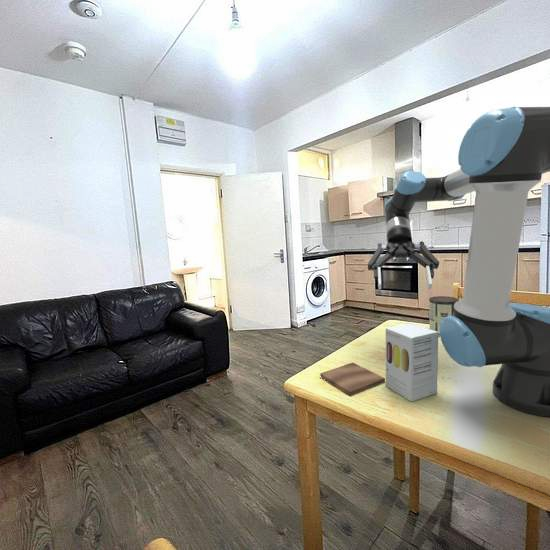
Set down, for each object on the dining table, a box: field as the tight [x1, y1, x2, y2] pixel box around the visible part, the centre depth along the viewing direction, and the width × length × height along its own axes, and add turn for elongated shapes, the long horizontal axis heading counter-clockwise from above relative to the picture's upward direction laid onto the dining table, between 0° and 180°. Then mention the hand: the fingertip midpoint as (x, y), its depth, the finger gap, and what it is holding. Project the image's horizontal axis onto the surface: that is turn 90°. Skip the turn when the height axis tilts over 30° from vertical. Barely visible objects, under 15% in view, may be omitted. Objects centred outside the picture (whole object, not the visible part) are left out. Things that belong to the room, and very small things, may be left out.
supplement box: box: [385, 322, 439, 403], centre depth 80 cm, size 10×9×17 cm
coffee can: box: [428, 295, 460, 337], centre depth 120 cm, size 10×10×14 cm
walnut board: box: [320, 362, 386, 397], centre depth 88 cm, size 13×13×1 cm
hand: (404, 286), depth 88 cm, fingers open, 13 cm apart
